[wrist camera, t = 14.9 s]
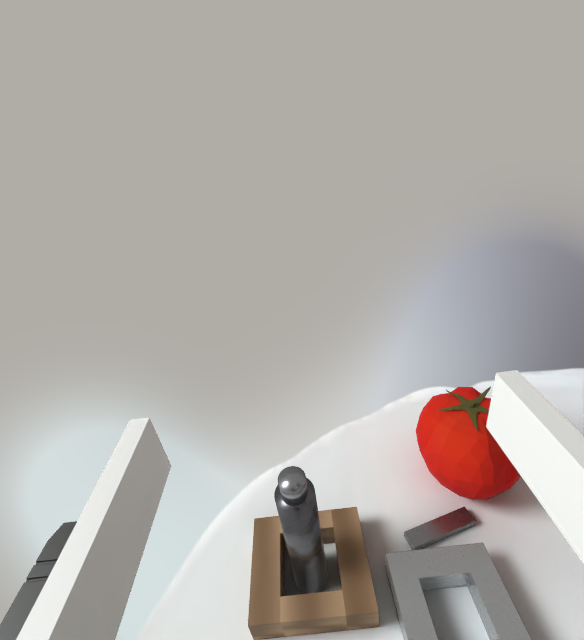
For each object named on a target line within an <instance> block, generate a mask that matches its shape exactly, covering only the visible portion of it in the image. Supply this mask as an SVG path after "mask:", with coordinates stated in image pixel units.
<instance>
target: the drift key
mask: <svg viewBox="0 0 584 640" xmlns="http://www.w3.org/2000/svg"><path fill="white" fill-rule="evenodd" d="M475 523H476V520H475V519H474V518H473V517H472V515H471V514H470V513H469V512H468V510H467V509H466V508H465V507H462V508H460V509H458V510H455V511H453V512H450V513H448V514H446V515H443V516H441V517H439V518H436V519H434V520H432V521H429V522H427V523H424V524H422V525H420V526H417V527H415V528H413V529H410V530H408V531H405V532H404V536H405V538H406V540H407V541H408V543H409V545H410V546H411V548H412V550H419V549H421V548H423V547H426V546H428V545H430V544H433V543H435V542H437V541H439V540H442V539H444V538H446V537H449V536H451V535H453V534H455V533H458V532H460V531H462V530H465V529H467V528H469V527H471V526H474V525H475Z"/></svg>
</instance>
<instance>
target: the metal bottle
mask: <svg viewBox="0 0 584 640" xmlns="http://www.w3.org/2000/svg"><path fill="white" fill-rule="evenodd" d="M275 502H276V506H277V510H278V514H279V518H280V522H281V526H282V530H283V534H284V538H285V542H286V546H287V550H288V554H289V558H290V562H291V566H292V570H293V574H294V578H295V582H296V585H297V587H298V588H299V589H300V590H301V591H302V592H303V593H305V594H309V593H318V592H320V591H322V590H323V588H324V587H325V585H326V583H327V579H328V572H327V565H326V559H325V553H324V546H323V540H322V533H321V527H320V521H319V514H318V508H317V502H316V495H315V489H314V486H313V484H312V482H311V481H310V480H309V479H307V478H306V476H305V473H304V471H303V470H302V469H301V468H299V467H295V466H291V467H287V468H285V469H283V470H282V471H281V472H280V474H279V476H278V486H277V487H276V490H275Z"/></svg>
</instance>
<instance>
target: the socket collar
mask: <svg viewBox="0 0 584 640" xmlns="http://www.w3.org/2000/svg"><path fill="white" fill-rule="evenodd" d="M386 569H387V573H388V577H389V581H390V585H391V589H392V593H393V597H394V601H395V605H396V609H397V613H398V617H399V621H400V625H401V629H402V633H403V637H404V640H438V638H437V635H436V632H435V629H434V626H433V623H432V619H431V616H430V613H429V610H428V607H427V604H426V600H425V597H424V594H423V591H422V590H430V589H439V588H449V587H458V586H468V588H469V590H470V593H471V595H472V598H473V600H474V602H475V605H476V607H477V610H478V612H479V614H480V617H481V619H482V621H483V624H484V626H485V629H486V631H487V633H488V636H489V638H490V640H531V638H530V636H529V634H528V632H527V630H526V628H525V626H524V624H523V622H522V620H521V618H520V616H519V614H518V612H517V610H516V608H515V606H514V604H513V602H512V600H511V598H510V596H509V594H508V592H507V590H506V588H505V586H504V584H503V582H502V580H501V578H500V576H499V574H498V572H497V570H496V568H495V566H494V564H493V562H492V560H491V558H490V556H489V554H488V552H487V550H486V548H485V546H484V544H483V543H475V544H466V545H457V546H448V547H439V548H430V549H421V550H412V551H403V552H394V553H386Z"/></svg>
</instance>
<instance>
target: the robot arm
mask: <svg viewBox="0 0 584 640" xmlns="http://www.w3.org/2000/svg"><path fill="white" fill-rule="evenodd" d="M486 427H487V429H488V430H489V432H490V433H491V434H492V436H493V437H494V439H495V440H496V441H497V443H498V444H499V446H500V447H501V449H502V450H503V451H504V453H505V454H506V456H507V457H508V458H509V460H510V461H511V463H512V464H513V465H514V467H515V468H516V470H517V471H518V472H519V474H520V475H521V477H522V478H523V479H524V481H525V482H526V484H527V485H528V487H529V488H530V489H531V491H532V492H533V494H534V495H535V496H536V498H537V499H538V501H539V502H540V503H541V505H542V506H543V508H544V509H545V510H546V512H547V513H548V515H549V516H550V517H551V519H552V520H553V522H554V523H555V525H556V526H557V527H558V529H559V530H560V532H561V533H562V534H563V536H564V537H565V539H566V540H567V541H568V543H569V544H570V546H571V547H572V548H573V550H574V551H575V553H576V554H577V555H578V557H579V558H580V560H581V561H582V563H583V564H584V436H583V435H582V434H581V433H580V432H579V431H578V430H577V429H576V428H575V427H574V426H573V425H572V424H571V423H570V422H569V421H568V420H567V419H566V418H565V417H564V416H563V415H562V414H561V413H560V412H559V411H558V410H557V409H556V408H555V407H554V406H553V405H552V404H551V403H550V402H549V401H548V400H547V399H546V398H545V397H544V396H543V395H542V394H541V393H540V392H538V391H537V390H536V389H535V388H534V387H533V386H532V385H531V384H530V383H529V382H528V381H527V380H526V379H525V378H524V377H523V376H522V375H521V374H520V373H519V372H518V371H517V370H516V371H508V372H500V373H496V377H495V382H494V387H493V392H492V398H491V403H490V408H489V414H488V419H487V425H486ZM170 468H171V465H170V462H169V460H168V458H167V455H166V453H165V451H164V449H163V447H162V444H161V442H160V440H159V438H158V435H157V434H156V431H155V429H154V427H153V425H152V422H151V420H150V418H142V419H134V420H130V421H129V423H128V425H127V427H126V429H125V431H124V432H123V434H122V436H121V438H120V440H119V442H118V444H117V446H116V448H115V450H114V452H113V454H112V456H111V457H110V459H109V461H108V463H107V465H106V467H105V469H104V471H103V473H102V475H101V477H100V479H99V481H98V482H97V484H96V486H95V488H94V490H93V492H92V494H91V496H90V498H89V500H88V502H87V504H86V506H85V508H84V510H83V512H82V514H81V515H80V517H79V519H78V521H76V522H68V523H63V525H62V526H61V527H60V528H59V529H58V530H57V531H56V532H55V533H54V535H53V536H52V537H51V538H50V539H49V540H48V541H47V543H46V545H45V547H44V548H43V550H42V552H41V554H40V555H39V557H38V559H37V561H36V565H34V566H33V568H32V570H31V571H30V573H29V575H28V577H27V581H26V582H25V583H24V584H23V585H22V587H21V589H20V591H19V593H18V594H17V596H16V598H15V600H14V602H13V603H12V605H11V607H10V608H9V610H8V612H7V614H6V615H5V617H4V619H3V621H2V623H1V624H0V640H115V638H116V635H117V632H118V629H119V626H120V623H121V619H122V616H123V613H124V610H125V607H126V604H127V601H128V598H129V594H130V592H131V588H132V585H133V582H134V579H135V576H136V573H137V570H138V567H139V564H140V561H141V557H142V554H143V551H144V548H145V545H146V542H147V539H148V536H149V533H150V530H151V526H152V523H153V520H154V517H155V514H156V511H157V508H158V505H159V502H160V498H161V495H162V492H163V489H164V486H165V483H166V480H167V477H168V474H169V471H170Z"/></svg>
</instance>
